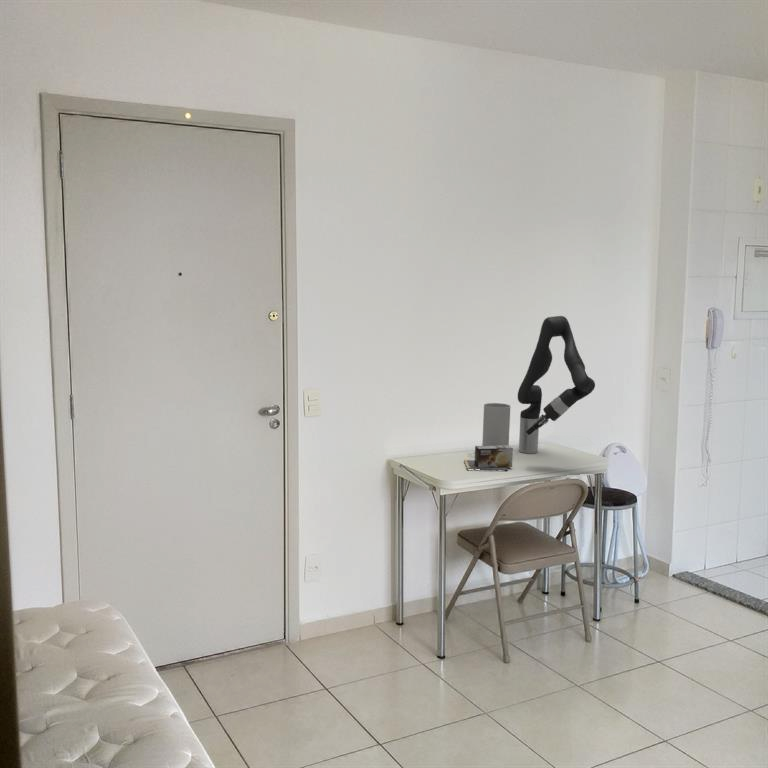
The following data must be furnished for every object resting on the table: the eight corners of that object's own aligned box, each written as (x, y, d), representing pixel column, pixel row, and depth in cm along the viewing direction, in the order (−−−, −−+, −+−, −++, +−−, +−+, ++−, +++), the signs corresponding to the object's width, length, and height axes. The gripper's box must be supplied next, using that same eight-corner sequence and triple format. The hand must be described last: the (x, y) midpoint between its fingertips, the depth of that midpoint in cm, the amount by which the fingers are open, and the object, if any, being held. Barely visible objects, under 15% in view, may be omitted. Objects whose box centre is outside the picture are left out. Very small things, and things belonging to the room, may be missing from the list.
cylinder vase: (476, 455, 381) (478, 404, 378) (495, 452, 389) (497, 402, 385) (494, 460, 371) (497, 408, 368) (513, 457, 379) (515, 406, 375)
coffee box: (508, 444, 361) (474, 445, 358) (513, 447, 355) (478, 448, 352) (507, 464, 362) (473, 464, 360) (512, 467, 356) (477, 468, 353)
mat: (464, 461, 368) (464, 459, 368) (502, 462, 368) (502, 460, 368) (467, 470, 352) (467, 468, 352) (507, 471, 352) (507, 468, 352)
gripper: (552, 400, 358) (524, 424, 363) (549, 404, 345) (519, 429, 351) (563, 412, 357) (535, 436, 362) (560, 417, 344) (531, 442, 350)
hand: (527, 433), depth 357 cm, fingers closed
